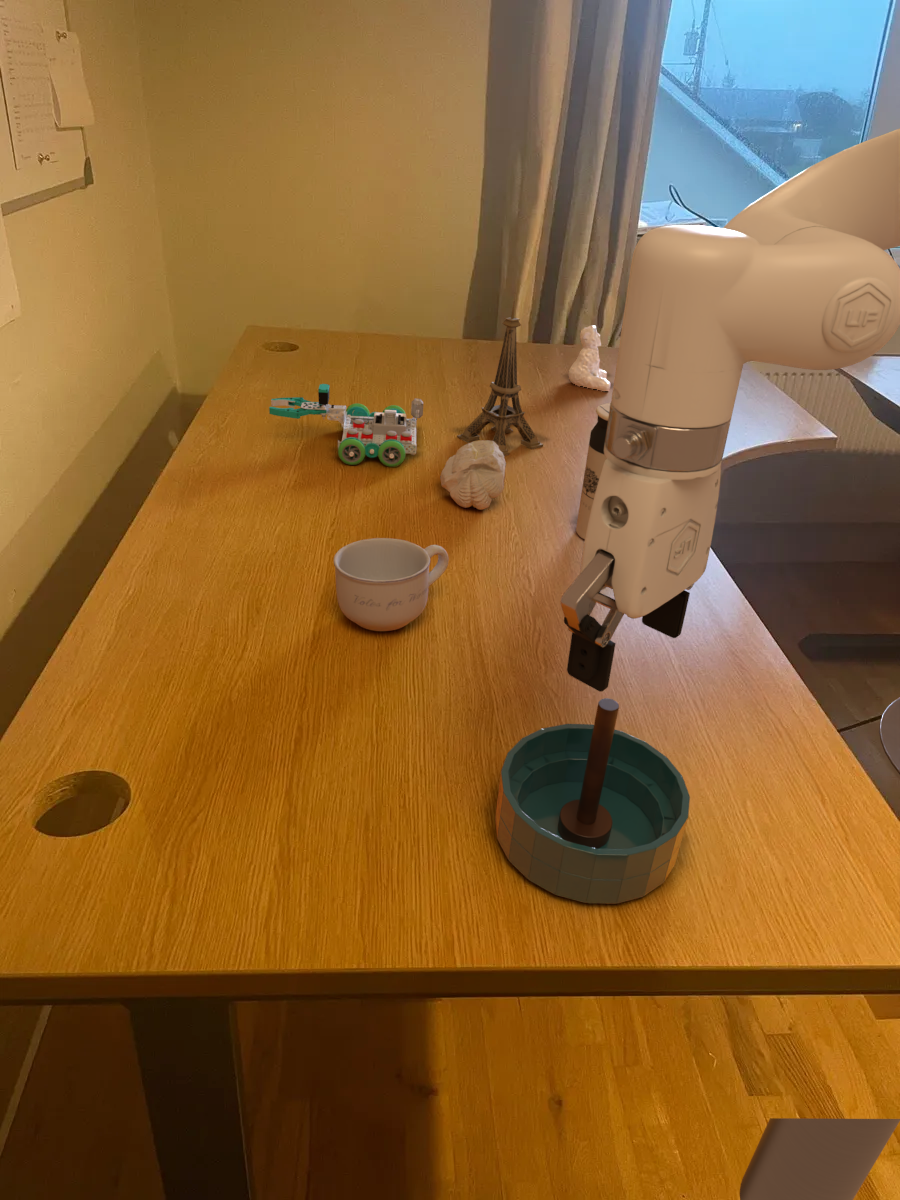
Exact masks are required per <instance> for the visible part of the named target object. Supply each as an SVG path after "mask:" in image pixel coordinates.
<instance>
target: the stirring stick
mask: <svg viewBox="0 0 900 1200" xmlns="http://www.w3.org/2000/svg"><path fill="white" fill-rule="evenodd" d="M619 710H620V705H619V703H618V702H617V701H616V700H615V699H613V698H609V697H604V698H601V699H599V700H598V702H597V707H596V713H595V718H594V723H593V725H594V728H593V733H592V738H591V743H590V749H589V754H588V759H587V764H586V770H585V775H584V780H583V785H582V791H581V796H580V800H573V801H570V802H568V803H567V804H565V805H564V806H563V807H562V809H561V811H560V816H559V822H558V831H559V834H560V836H561V837H562V838H563V839H564V840H566V841H569V842H572V843H576V844H580V845H584V846H588V847H592V848H596V849H598V848H600V847H602V846H604V845H605V844H606V843H607V842H608V840H609V837H610V833H611V828H612V818H611V815H610V813H609V812H608V811H607V810H606V809H605V808H604V807H603V806H601V805H600V804H599V802H600V797H601V792H602V787H603V782H604V777H605V773H606V768H607V763H608V758H609V753H610V748H611V744H612V739H613V734H614V729H615V730H616V724H617V719H618V714H619Z"/></svg>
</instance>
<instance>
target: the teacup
mask: <svg viewBox="0 0 900 1200" xmlns="http://www.w3.org/2000/svg"><path fill="white" fill-rule="evenodd" d="M435 555H437V557H438V558H437V562H436V564H435V566H433V568H432V569H431V570H430V565H431V559H432V557H433V556H435ZM333 566H334V570H335V571H334V572H335V575H334V576H335V591H336V599H337V604H338V607H339V609H340V610H341V612H342V614H343V615H344V616H345V617H346V618H347V619H349V620H350V621H351V622H353V623H355V624H356V625H358V626H359V627H361V628H363V629H366V630H369V631H372V632H373V631H374V632H390V631H396V630H399V629H402V628H404V627H405V626H407V625H409V624H410V623H411V622H413V621H415V620H416V619H417V618H418V617H419V616H420V615H421V614H422V613H423V612H424V610H425V608H426V607H427V603H428V597H429V588H430V586H431V585H433V584H434V583H435V582H436V581H437V580H438V579H439V578H440V577H442V575H443V574H444V573H445V572H446V570H447V568H448V566H449V553H448V552H447V551H446V549H445V548H444V547H443V546H441V545H439V544H430V545H428V546H426V547H425V548H423V547H421V546H420V545H418V544H416V543H414V542H411V541H408V540H405V539H400V538H391V537H390V538H389V537H374V538H366V539H361V540H357V541H353V542H351V543H349V544H346V545H344V546H343V547H341V548H339V550H337V552H336V553H335V554H334V556H333Z"/></svg>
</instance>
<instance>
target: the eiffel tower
mask: <svg viewBox="0 0 900 1200" xmlns="http://www.w3.org/2000/svg"><path fill="white" fill-rule="evenodd" d="M515 301H516V293H514V296H513V302H512V309H511V316H509V317H504V321H503V322H502V324H503V326H505V333H504V336H503V337H504V338H503V342H502V347H501V352H500V357H499V361H498V365H497V370H496V374H495V378H494V381H490V384H489V388H491V391H490V394H489V397H488V400H487V402H486V403H485V405H484V406H483V407H481V411H482V412H480V414H479V415H478V416H477V417H475V419H473V421H472V422H471V423H469V425H467V427H466V428H465V429H464V431H463V432H462V433H460V434H458V435H457V436H456V438H457V439H459V440H462V441H463V442H465V443H472V442H473V441H479V440H480V437H481V436H480V435H479V434H480V433H481V432H482V430H483V429H484V428H485V427H486V426H487V425H489V424H493V425H494V426H492V427H490V429H491V431H494V432H495V433H494V436H493V439H492V441H494V442H495V443H496V444H497V445H498V446H499V450H500V451H501V452H502V453H503V455H504V457H506V456H509V455H510V452H509V450H508V449H507V439H506V434H509V433H513V432H514V430H513V429H512V428H511V426H514V427H515V428H516V429H517V431H518V433H519V435H520V437H521V438H522V439H521V440H520V445H522V446H524V447H526V448H528V449H531V450H533V449H537V448H542V447H544V443H542V442H540V441H539V439H538V436H537V435H536V433H535V432H534V431H533V428H532V427H531V425H530V424H529V422H528V421H527V420H526V418H525V416H524V415H525V414H526V412H525V411H523V409H522V406H521V402H520V397H519V393H520V392H521V391H522V386H521V385H519V384H518V362H517V361H518V359H517V353H518V352H517V328H518V327H521V326H522V324H521V323H520V321H521V318H517V317H515V304H516V303H515ZM498 397H500V404H497V405H496V401H497V399H498ZM509 399H511V404H512V406H510V405H509V401H510V400H509ZM541 446H542V447H541Z"/></svg>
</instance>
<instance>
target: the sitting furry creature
mask: <svg viewBox="0 0 900 1200" xmlns="http://www.w3.org/2000/svg"><path fill="white" fill-rule="evenodd" d="M579 339H580V343H581V346H582V348H581V349H580V350H579V353H578V356H576V360H575V361H574V362H573V363H572V365H571V366H570V368H569V370H568V371H567V378H568V380H569V382H570V383H571V384H573V385H574V384H575V385H574V386H576V385H578V386H577V387H580V386H583V387H582V388H584V387H587V388H586V389H588V388H593V389H597V390H596V391H598V390H602V391H609V392H610V389H611V384H612V383H611V382H610V381H609V380H608V379H607V378H608V372H607V371H606V370H603V368H600V362H601V359H600V355H599V354H600V353H599V347H601V346H602V342H601V333H599V332H598V331H597V326H596V325H593V324H590V325H589V326H587V327H586V326H584V327H583V328H582V329H581V331H580V334H579ZM593 389H592V390H593ZM602 391H601V392H602Z"/></svg>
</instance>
